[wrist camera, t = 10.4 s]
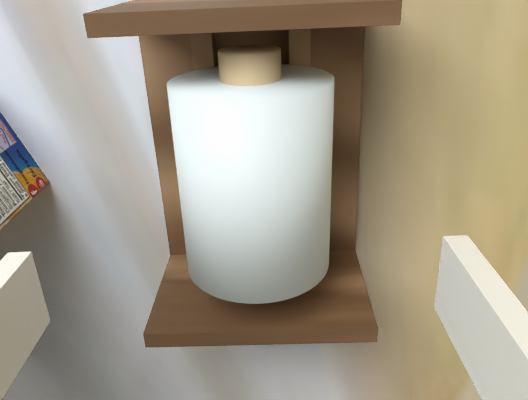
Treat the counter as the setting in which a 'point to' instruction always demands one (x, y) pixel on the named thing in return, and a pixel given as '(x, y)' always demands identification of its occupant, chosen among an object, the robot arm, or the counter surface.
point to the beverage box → (16, 174)
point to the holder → (343, 156)
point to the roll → (254, 173)
